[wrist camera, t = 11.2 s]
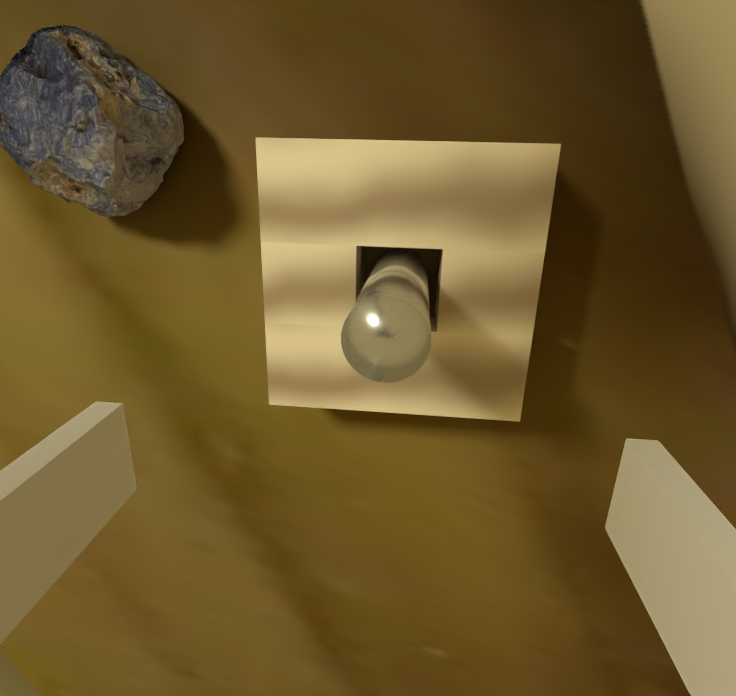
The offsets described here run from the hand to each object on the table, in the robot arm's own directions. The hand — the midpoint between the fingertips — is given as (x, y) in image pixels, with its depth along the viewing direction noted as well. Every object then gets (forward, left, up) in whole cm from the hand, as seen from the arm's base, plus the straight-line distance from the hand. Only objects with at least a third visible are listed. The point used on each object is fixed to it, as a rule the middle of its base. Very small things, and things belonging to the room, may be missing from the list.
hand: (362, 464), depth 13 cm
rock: (-9, -21, -27) cm, 35 cm away
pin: (0, 0, -25) cm, 25 cm away
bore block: (0, 0, -26) cm, 26 cm away
